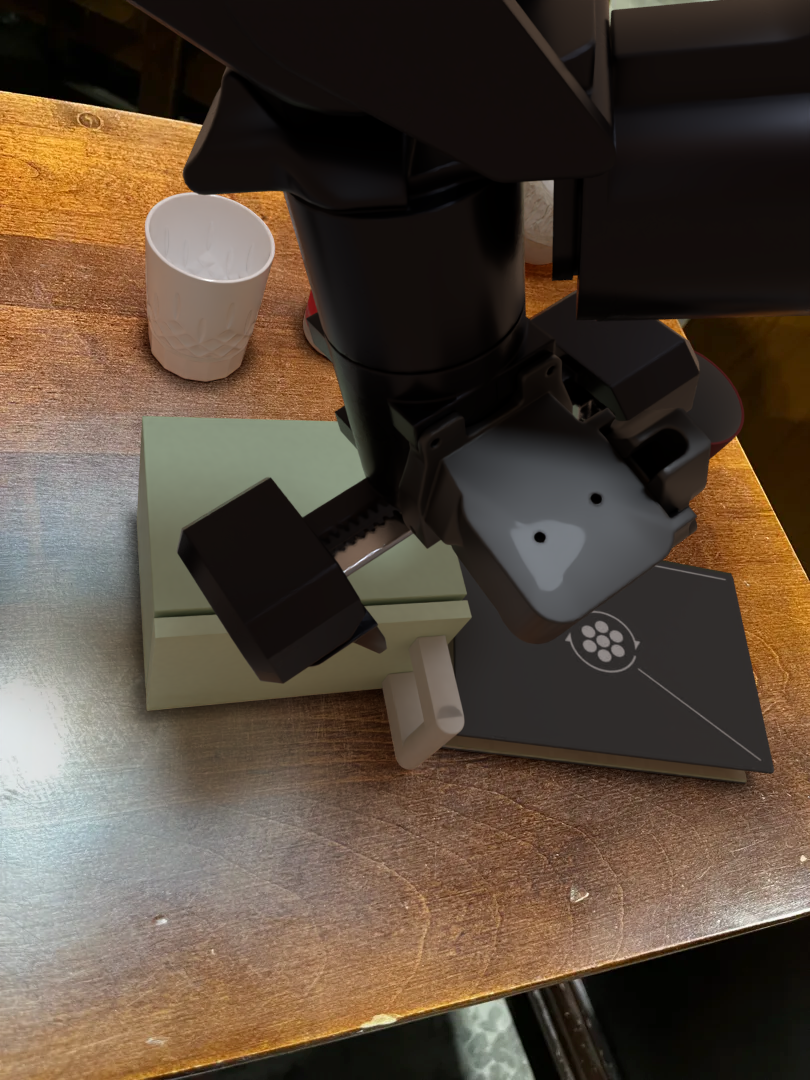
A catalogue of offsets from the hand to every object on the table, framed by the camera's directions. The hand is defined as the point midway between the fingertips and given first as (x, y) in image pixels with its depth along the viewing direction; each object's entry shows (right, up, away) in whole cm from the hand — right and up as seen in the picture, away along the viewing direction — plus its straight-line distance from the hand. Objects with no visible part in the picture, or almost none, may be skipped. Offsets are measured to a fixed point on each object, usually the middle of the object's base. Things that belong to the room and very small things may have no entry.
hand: (464, 584), depth 35 cm
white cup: (-18, +16, +23) cm, 33 cm away
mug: (+13, +8, +30) cm, 33 cm away
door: (-9, -9, +11) cm, 17 cm away
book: (+10, -6, +20) cm, 23 cm away
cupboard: (-11, -2, +15) cm, 19 cm away
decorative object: (+9, +29, +40) cm, 50 cm away
